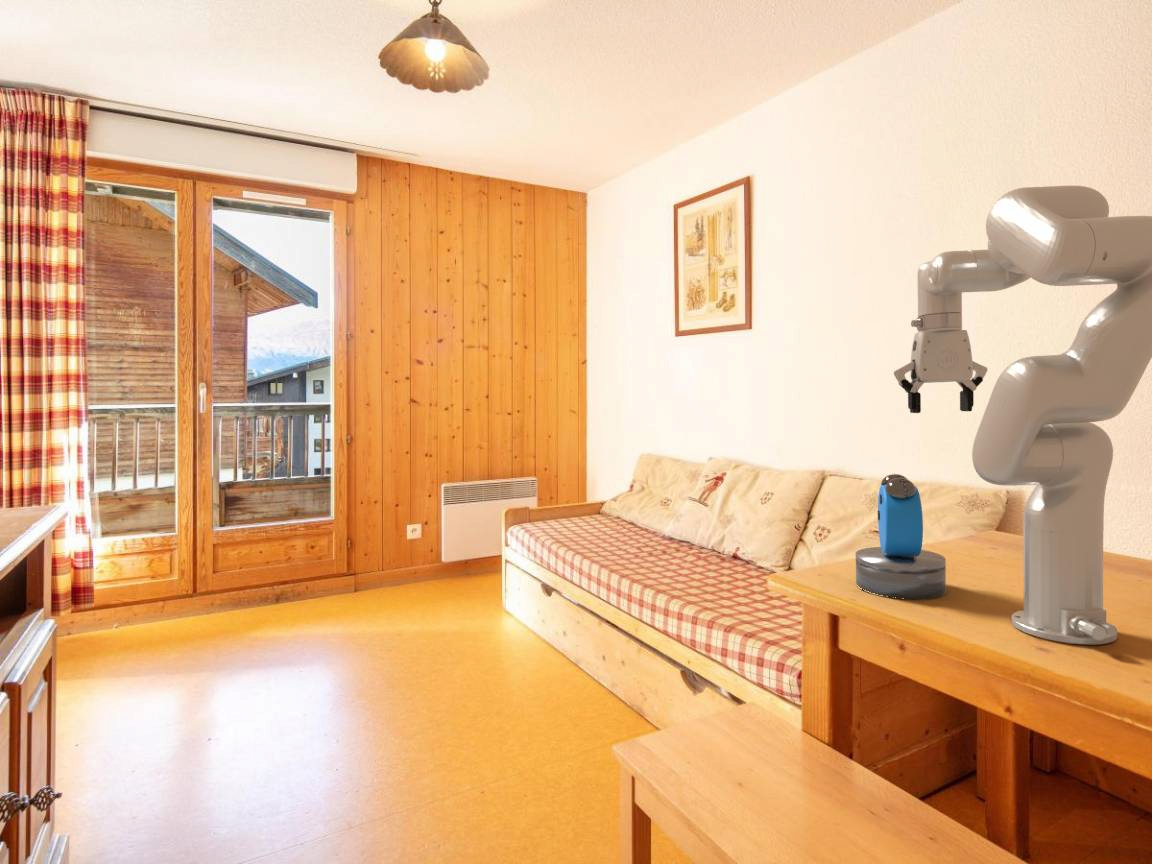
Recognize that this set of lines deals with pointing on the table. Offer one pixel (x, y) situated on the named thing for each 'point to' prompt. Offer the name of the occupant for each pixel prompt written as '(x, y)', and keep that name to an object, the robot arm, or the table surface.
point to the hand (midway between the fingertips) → (940, 412)
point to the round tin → (901, 574)
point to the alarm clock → (899, 517)
